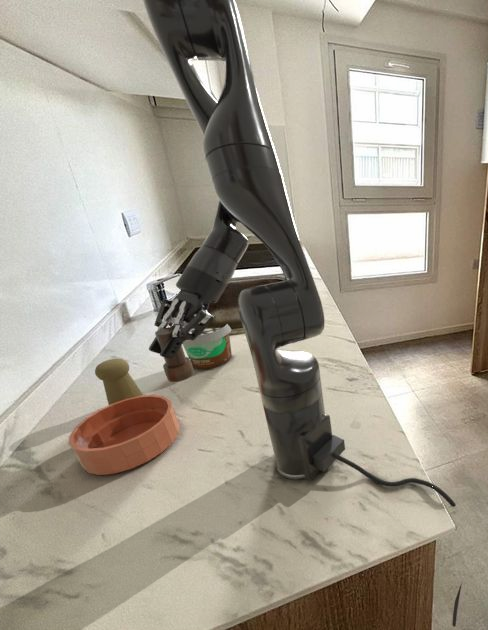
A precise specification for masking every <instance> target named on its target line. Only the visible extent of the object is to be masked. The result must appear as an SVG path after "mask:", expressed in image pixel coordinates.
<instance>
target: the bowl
mask: <svg viewBox="0 0 488 630" xmlns="http://www.w3.org/2000/svg"><path fill="white" fill-rule="evenodd" d="M180 429H181V425H180V422H179V419H178V417H177V414H176V412H175V409H174V406H173V404H172V401H171V399H169V398H167V397H166V396H164V395H159V394H143V395H141V396H137V397H132V398H127V399H124V400H121V401H119V402H116V403H113V404H111V405H109V404H108V405H107V406H104V407H102V408H99V409H98V410H96V411H95V412H93V413H91V414H90V415H88V416H86V417H85V418H83V419H82V421H81V422H79V423H78V424H77V425H76V426H75V427H74V428H73V430H72V431H71V433H70V434H69V436H68V446H69V447H70V449H71V450H72V453H73V454H74V456H75V458H76V459H77V461H78V463H79V464H80V466H81V468H82V469H83V470H84V471H85V472H86V473H88V474H92V475H97V476H103V475H115V474H118V473H122V472H125V471H130V470H131V469H134V468H136V467H138V466H141V465H143V464H145V463H147V462H149V461H151V460H152V459H153V458H155V457H158V455H160V454H161V453H163V452H164V451H165V450H166V449H167V448H168V447H170V446H171V445H172V444H173V443H174V441H175V440H176V438H177V437H178V435H179V433H180Z"/></svg>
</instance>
